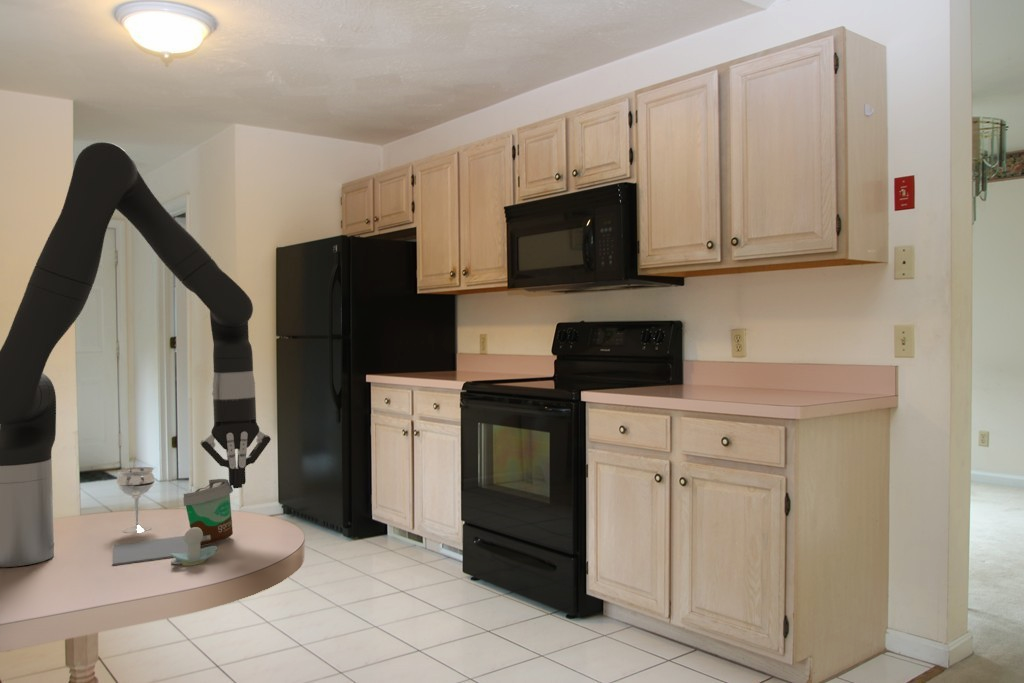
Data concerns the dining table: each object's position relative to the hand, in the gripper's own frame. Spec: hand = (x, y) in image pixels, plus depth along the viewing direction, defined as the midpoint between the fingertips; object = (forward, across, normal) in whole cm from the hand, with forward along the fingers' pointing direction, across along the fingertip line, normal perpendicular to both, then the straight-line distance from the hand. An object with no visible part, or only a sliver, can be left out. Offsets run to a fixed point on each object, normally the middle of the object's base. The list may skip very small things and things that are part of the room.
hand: (237, 487), depth 146 cm
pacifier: (+10, -9, -12) cm, 18 cm away
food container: (+9, -3, 0) cm, 10 cm away
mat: (+10, -14, 0) cm, 17 cm away
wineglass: (+10, -17, +19) cm, 27 cm away
